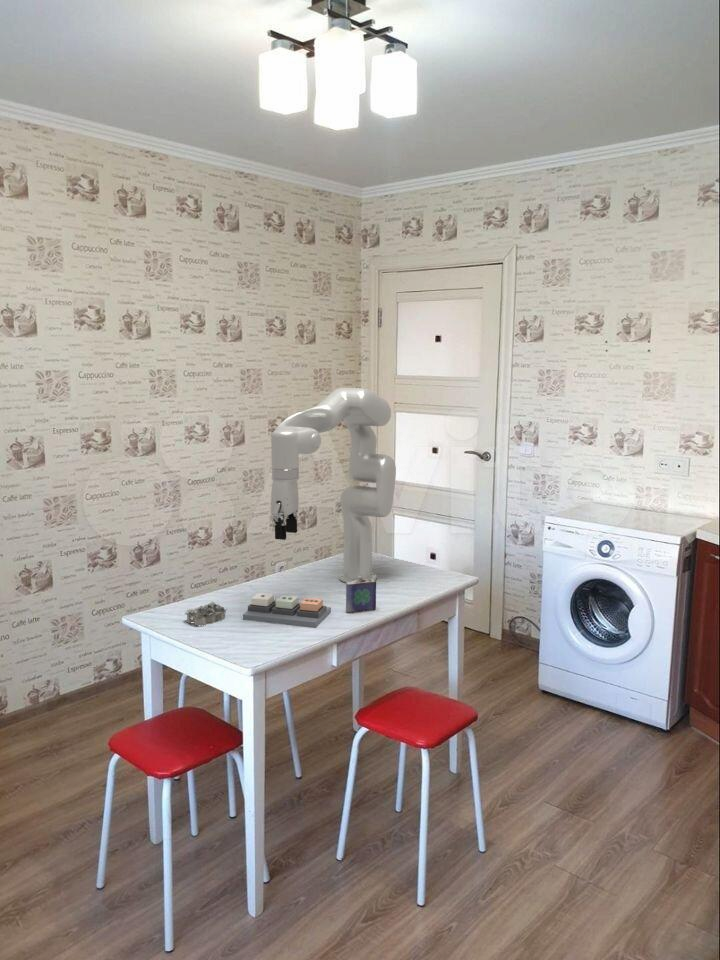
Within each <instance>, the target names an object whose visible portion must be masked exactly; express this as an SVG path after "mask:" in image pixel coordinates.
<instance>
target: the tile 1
mask: <svg viewBox="0 0 720 960" xmlns="http://www.w3.org/2000/svg"><path fill="white" fill-rule="evenodd" d="M250 601H251V603H252V605H259V606H269V605H270V604H271V603H273V602H274V601H276V600H275V594H273V593H263V592H258V593H256V594H255V595H254V596H252V597H251V600H250Z"/></svg>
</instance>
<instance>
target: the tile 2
mask: <svg viewBox="0 0 720 960" xmlns="http://www.w3.org/2000/svg"><path fill="white" fill-rule="evenodd" d="M275 601H276V607H278V608H288V609H293V608H294V607H295V606H296V605H297V604H298V603H299V596H293V595H280V597H278V598H277V599H276V600H275Z"/></svg>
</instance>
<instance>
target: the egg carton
mask: <svg viewBox="0 0 720 960" xmlns="http://www.w3.org/2000/svg"><path fill="white" fill-rule="evenodd" d="M224 607H225V606H221V605H220V604H219V603H216V602H214V601H211V602H210V603H207V604H204V605H200V606H199V607H195V608H193V609H191V608H189V609H187V610H186V611H185V612H184V615H185V616H186V623H187V622H188V623H187V624H189V623H191V622H194V623H193V624H194V626H195V625H197V626H196V627H200V626H199V625H203V626H202V627H204V625H205V626H206V625H207V624H209V623H210V624H213V623H216V621H220V620H221V621H222V620H225V618H226V613H227V611H228V608H226V609H225V608H224ZM191 624H192V623H191Z"/></svg>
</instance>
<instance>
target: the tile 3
mask: <svg viewBox="0 0 720 960" xmlns="http://www.w3.org/2000/svg"><path fill="white" fill-rule="evenodd" d="M299 603H300V610H307V611H318V610H319V609H320V608H321V607H322V606H324V598H315V597H314V598H313V597H305V598H304V599H303V600H302V601H301V602H299Z"/></svg>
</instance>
